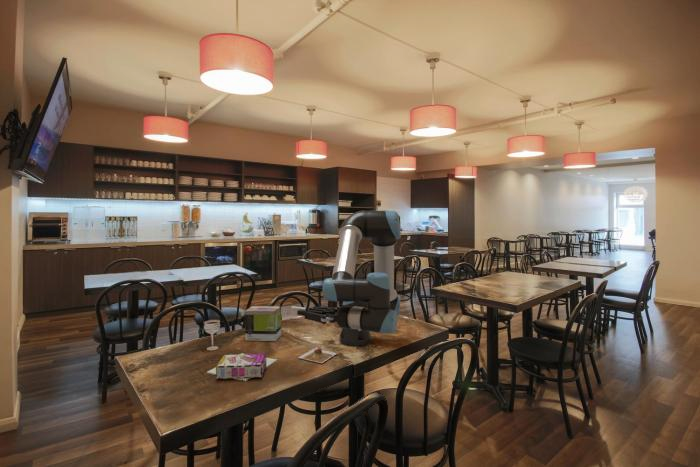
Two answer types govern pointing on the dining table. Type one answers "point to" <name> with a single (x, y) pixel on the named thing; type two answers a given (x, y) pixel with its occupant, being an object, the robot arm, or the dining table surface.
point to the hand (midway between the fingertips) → (291, 310)
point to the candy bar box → (241, 366)
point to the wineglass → (212, 330)
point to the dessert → (317, 354)
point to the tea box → (263, 323)
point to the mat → (268, 362)
